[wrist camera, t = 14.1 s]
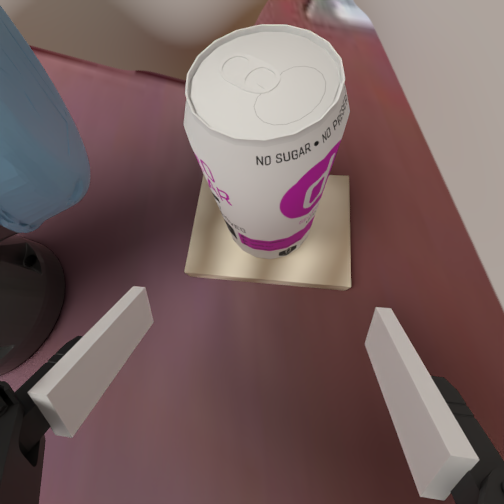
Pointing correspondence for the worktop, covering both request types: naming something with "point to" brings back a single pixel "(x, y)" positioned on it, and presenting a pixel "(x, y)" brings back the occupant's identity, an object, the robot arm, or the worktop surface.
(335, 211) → the birch board
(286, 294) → the worktop surface
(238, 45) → the supplement can
